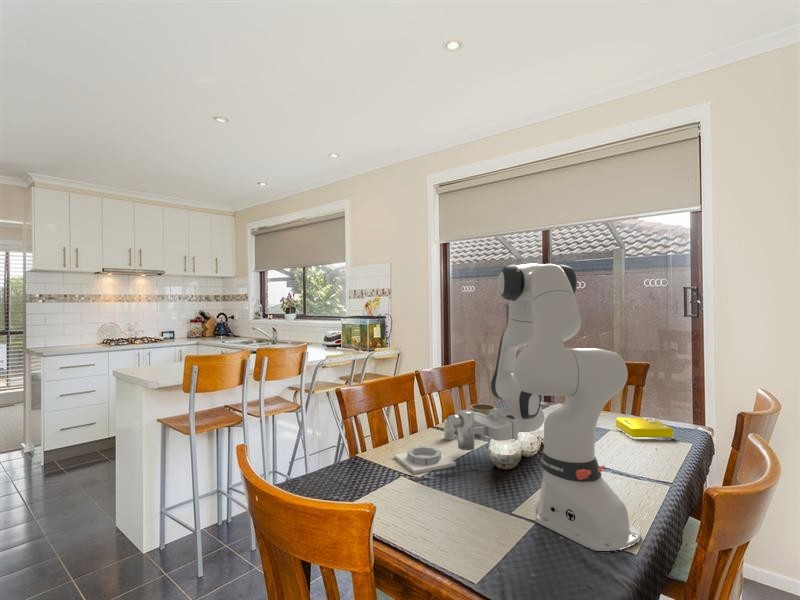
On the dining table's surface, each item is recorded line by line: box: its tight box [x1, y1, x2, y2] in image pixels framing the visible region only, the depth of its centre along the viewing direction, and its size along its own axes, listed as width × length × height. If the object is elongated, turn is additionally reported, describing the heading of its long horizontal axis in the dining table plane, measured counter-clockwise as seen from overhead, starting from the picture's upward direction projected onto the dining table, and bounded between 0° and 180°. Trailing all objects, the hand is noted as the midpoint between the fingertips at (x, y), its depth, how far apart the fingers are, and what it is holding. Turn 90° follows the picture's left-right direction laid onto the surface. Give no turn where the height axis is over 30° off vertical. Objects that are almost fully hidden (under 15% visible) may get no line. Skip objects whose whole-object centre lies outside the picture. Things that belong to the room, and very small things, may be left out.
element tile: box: [615, 417, 674, 438], centre depth 162 cm, size 15×15×5 cm
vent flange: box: [393, 445, 457, 475], centre depth 134 cm, size 14×14×3 cm
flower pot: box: [470, 403, 496, 415], centre depth 167 cm, size 9×9×9 cm
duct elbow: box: [446, 409, 475, 451], centre depth 133 cm, size 5×8×11 cm, turn 115°
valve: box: [443, 418, 458, 441], centre depth 159 cm, size 7×7×12 cm
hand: (463, 428), depth 134 cm, fingers closed on duct elbow, 5 cm apart
